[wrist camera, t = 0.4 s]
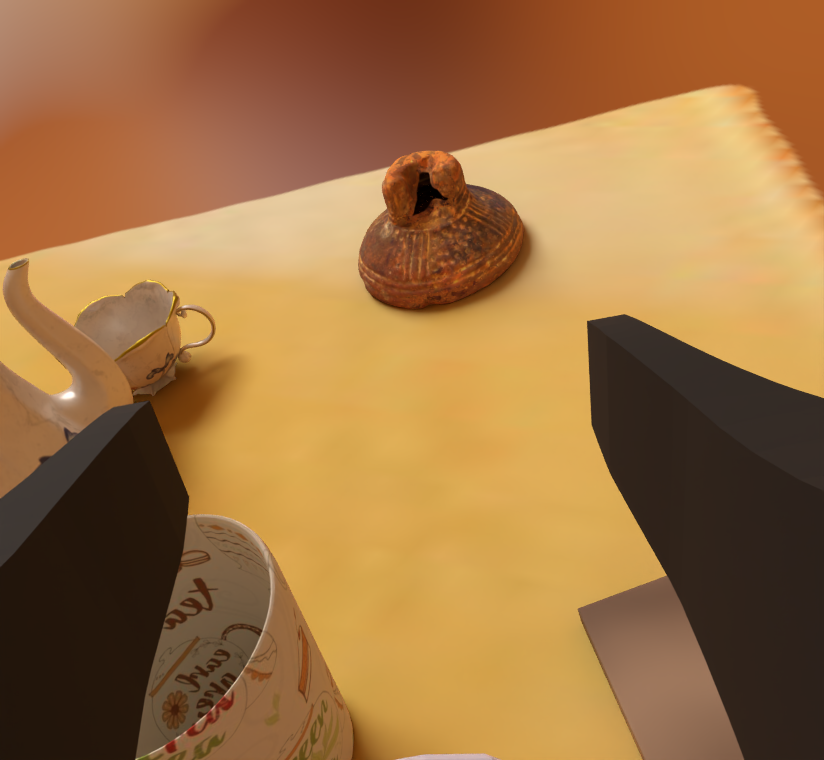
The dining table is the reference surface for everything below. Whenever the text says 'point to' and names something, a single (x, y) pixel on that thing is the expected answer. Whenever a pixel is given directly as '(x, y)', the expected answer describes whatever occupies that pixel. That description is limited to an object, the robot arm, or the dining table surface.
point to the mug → (238, 661)
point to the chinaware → (85, 366)
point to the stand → (659, 675)
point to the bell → (436, 234)
